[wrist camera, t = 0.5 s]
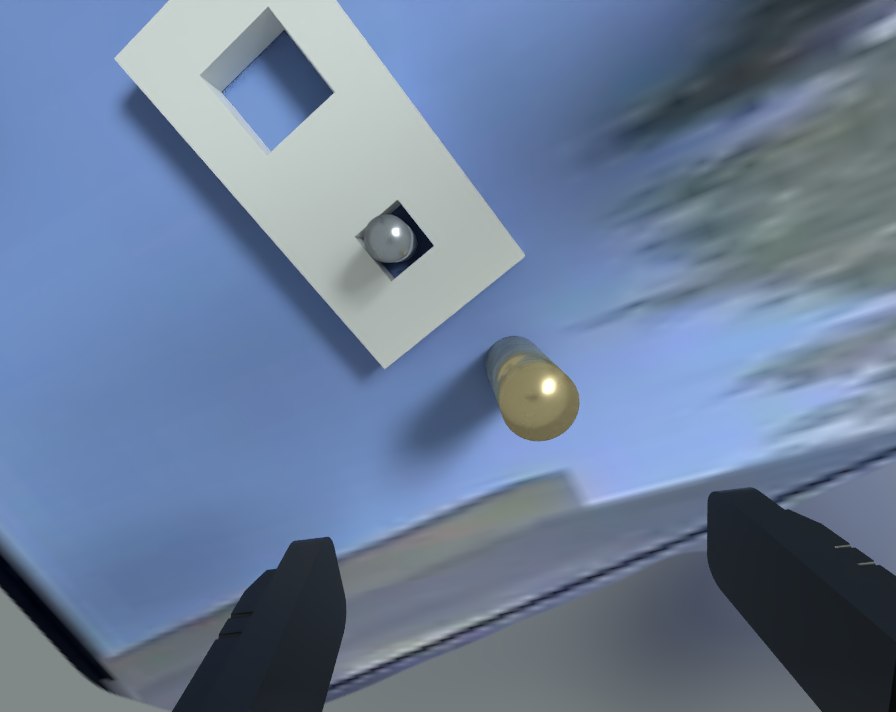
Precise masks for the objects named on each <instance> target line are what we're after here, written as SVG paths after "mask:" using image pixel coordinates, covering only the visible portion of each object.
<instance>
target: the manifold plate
mask: <svg viewBox="0 0 896 712" xmlns="http://www.w3.org/2000/svg"><path fill="white" fill-rule="evenodd" d="M284 30H285V31H286V32H287V34H288V35H289V36H290V37H291V39H292V40H293V41H294V43H295V44H296V45H297V46H298V48H299V49H300V50H301V52H302V53H303V54H304V55H305V57H306V58H307V59H308V61H309V62H310V63H311V64H312V66H313V67H314V68H315V70H316V71H317V72H318V73H319V75H320V76H321V77H322V79H323V80H324V81H325V82H326V84H327V85H328V86H329V88H330V89H331V90H332V91H333V94H332V95H331V96H330V97H329V98H328V99H327V100H326V101H325V102H324V103H323V104H322V105H321V106H319V107H318V108H317V109H316V110H315V111H314V112H313V113H312V114H311V115H310V116H309V117H308V118H307V119H306V120H305V121H304V122H302V123H301V124H300V125H299V126H298V127H297V128H296V129H295V130H294V131H293V132H292V133H291V134H290V135H289V136H288V137H287V138H285V139H284V140H283V141H282V142H281V143H280V144H279V145H278V146H277V147H276V148H275V149H274V150H273V151H272V152H271V151H270V150H269V149H268V147H267V146H266V145H265V144H264V143H263V141H262V140H261V139H260V138H259V137H258V135H257V134H256V133H255V132H254V131H253V129H252V128H251V127H250V126H249V125H248V123H247V122H246V121H245V120H244V119H243V117H242V116H241V115H240V114H239V113H238V111H237V110H236V109H235V108H234V107H233V105H232V104H231V103H230V102H229V101H228V99H227V98H226V97H225V96H224V95H223V93H222V91H223V90H224V89H225V88H226V87H227V86H228V85H229V84H230V83H231V82H232V81H233V80H234V79H235V78H236V77H237V76H238V75H239V74H240V73H241V72H242V71H243V70H244V69H245V68H246V67H247V66H248V65H249V64H250V63H251V62H252V61H253V60H254V59H256V58H257V57H258V56H259V55H260V54H261V53H262V52H263V51H264V50H265V49H266V48H267V47H268V46H269V45H270V44H271V43H272V42H273V41H274V40H275V39H276V38H277V37H278V36H279V35H280V34H281V33H282V32H283V31H284ZM114 59H115V60H116V61H117V62H118V64H119V65H120V66H121V67H122V68H123V69H124V70H125V72H126V73H127V74H128V75H129V76H130V77H131V78H132V80H133V81H134V82H135V83H136V84H137V85H138V86H139V88H140V89H141V90H142V91H143V92H144V93H145V95H146V96H147V97H148V98H149V99H150V100H151V101H152V103H153V104H154V105H155V106H156V107H157V108H158V109H159V111H160V112H161V113H162V114H163V115H164V116H165V117H166V119H167V120H168V121H169V122H170V123H171V124H172V126H173V127H174V128H175V129H176V130H177V131H178V132H179V134H180V135H181V136H182V137H183V138H184V139H185V140H186V142H187V143H188V144H189V145H190V146H191V147H192V149H193V150H194V151H195V152H196V153H197V154H198V155H199V157H200V158H201V159H202V160H203V161H204V162H205V163H206V165H207V166H208V167H209V168H210V169H211V170H212V171H213V173H214V174H215V175H216V176H217V177H218V178H219V180H220V181H221V182H222V183H223V184H224V185H225V186H226V188H227V189H228V190H229V191H230V192H231V193H232V194H233V196H234V197H235V198H236V199H237V200H238V201H239V202H240V204H241V205H242V206H243V207H244V208H245V209H246V211H247V212H248V213H249V214H250V215H251V216H252V217H253V219H254V220H255V221H256V222H257V223H258V224H259V225H260V227H261V228H262V229H263V230H264V231H265V232H266V234H267V235H268V236H269V237H270V238H271V239H272V240H273V242H274V243H275V244H276V245H277V246H278V247H279V248H280V250H281V251H282V252H283V253H284V254H285V255H286V256H287V258H288V259H289V260H290V261H291V262H292V263H293V265H294V266H295V267H296V268H297V269H298V270H299V271H300V273H301V274H302V275H303V276H304V277H305V278H306V279H307V281H308V282H309V283H310V284H311V285H312V286H313V288H314V289H315V290H316V291H317V292H318V293H319V294H320V296H321V297H322V298H323V299H324V300H325V301H326V302H327V304H328V305H329V306H330V307H331V308H332V309H333V310H334V312H335V313H336V314H337V315H338V316H339V317H340V319H341V320H342V321H343V322H344V323H345V324H346V325H347V327H348V328H349V329H350V330H351V331H352V332H353V333H354V335H355V336H356V337H357V338H358V339H359V340H360V341H361V343H362V344H363V345H364V346H365V347H366V348H367V350H368V351H369V352H370V353H371V354H372V355H373V356H374V358H375V359H376V360H377V361H378V362H379V363H380V364H381V366H382V367H383V368H384V369H386V368H387V367H388V366H389V365H391V364H392V363H393V362H394V361H396V360H397V359H398V358H399V357H401V356H402V355H403V354H404V353H406V352H407V351H408V350H409V349H411V348H412V347H413V346H414V345H416V344H417V343H418V342H419V341H421V340H422V339H423V338H424V337H426V336H427V335H428V334H429V333H430V332H432V331H433V330H434V329H435V328H437V327H438V326H439V325H440V324H442V323H443V322H444V321H445V320H447V319H448V318H449V317H450V316H452V315H453V314H454V313H455V312H457V311H458V310H459V309H460V308H462V307H463V306H464V305H465V304H467V303H468V302H469V301H470V300H472V299H473V298H474V297H475V296H477V295H478V294H479V293H480V292H482V291H483V290H484V289H485V288H487V287H488V286H489V285H490V284H491V283H493V282H494V281H495V280H496V279H498V278H499V277H500V276H501V275H503V274H504V273H505V272H506V271H508V270H509V269H510V268H511V267H513V266H514V265H515V264H516V263H518V262H519V261H520V260H521V259H523V258H524V257H525V256H526V255H525V254H524V253H523V251H522V250H521V249H520V247H519V246H518V245H517V243H516V242H515V241H514V239H513V238H512V236H511V235H510V234H509V232H508V231H507V230H506V228H505V227H504V226H503V224H502V223H501V222H500V220H499V219H498V218H497V216H496V215H495V214H494V212H493V211H492V210H491V208H490V207H489V206H488V204H487V203H486V202H485V200H484V199H483V197H482V196H481V195H480V193H479V192H478V191H477V189H476V188H475V187H474V185H473V184H472V183H471V181H470V180H469V179H468V177H467V176H466V175H465V173H464V172H463V171H462V169H461V168H460V167H459V165H458V164H457V162H456V161H455V160H454V158H453V157H452V156H451V154H450V153H449V152H448V150H447V149H446V148H445V146H444V145H443V144H442V142H441V141H440V140H439V138H438V137H437V136H436V134H435V133H434V132H433V130H432V129H431V127H430V126H429V125H428V123H427V122H426V121H425V119H424V118H423V117H422V115H421V114H420V113H419V111H418V110H417V109H416V107H415V106H414V105H413V103H412V102H411V101H410V99H409V98H408V97H407V95H406V94H405V93H404V91H403V90H402V88H401V87H400V86H399V84H398V83H397V82H396V80H395V79H394V78H393V76H392V75H391V74H390V72H389V71H388V70H387V68H386V67H385V66H384V64H383V63H382V62H381V60H380V59H379V58H378V56H377V55H376V53H375V52H374V51H373V49H372V48H371V47H370V45H369V44H368V43H367V41H366V40H365V39H364V37H363V36H362V35H361V33H360V32H359V31H358V29H357V28H356V27H355V25H354V24H353V23H352V21H351V20H350V19H349V17H348V16H347V14H346V13H345V12H344V10H343V9H342V8H341V6H340V5H339V4H338V2H337V1H336V0H169V1H168V2H167V3H166V4H165V5H164V6H163V8H162V9H161V10H160V11H159V12H158V13H157V14H156V15H155V16H154V17H153V18H152V19H151V20H150V21H149V22H148V23H147V24H146V25H145V27H144V28H143V29H142V30H141V31H140V32H139V33H138V34H137V35H136V36H135V37H134V38H133V39H132V40H131V41H130V42H129V43H128V44H127V46H126V47H125V48H124V49H123V50H122V51H121V52H120V53H119V54H118V55H117V56H116V57H115V58H114ZM400 205H402V206H403V207H404V208H405V209H406V211H407V212H408V213H409V214H410V216H411V217H412V218H413V220H414V221H415V222H416V223H417V225H418V226H419V227H420V228H421V230H422V231H423V232H424V233H425V235H426V236H427V237H428V239H429V240H430V241H431V242H432V244H433V245H434V246H433V247H432V248H431V249H430V250H428V251H427V252H426V253H425V254H424V255H422V256H421V257H420V258H419V259H418V260H416V261H415V262H414V263H413V264H412V265H410V266H409V267H408V268H407V269H406V270H405V271H403V272H402V273H401V274H400V275H399V276H397V277H396V278H394V277H393V276H392V275H391V273H390V272H389V271H388V270H387V268H386V267H385V266H384V265H383V264H382V262H381V261H378V260H376V259H375V258H373V257H372V256H371V255H370V254H369V252H368V251H367V249H366V247H365V244H364V241H363V239H362V238H363V237H364V232H365V229H366V226H367V225H368V223H369V222H370V221H371V220H372V219H373V218H375V217H376V216H379V215H383V214H391V213H392V212H393V211H395V210H396V209H397V208H398V207H399V206H400Z"/></svg>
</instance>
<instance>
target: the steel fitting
mask: <svg viewBox="0 0 896 712" xmlns="http://www.w3.org/2000/svg"><path fill="white" fill-rule="evenodd" d="M364 244H365V247H366V249H367V251H368V252H369V254H370V255H371V256H372V257H373V258H375V259H376V260H378V261H381V262H387V263H390V262H403V261H406V260H408V259H410V258H411V257H412V256H413V255H414V253H415V251H416V249H417V237H416V235H415V233H414V231H413V230H412V229H411V228H410V227H409V226H408V225H407V224H406V223H404V222H403V221H402V220H401V219H400V218H398V217H396V216H394V215H390V214H383V215H379V216H376V217H375V218H373V219H372V220H371V221H370V222H369V223H368V225H367V226H366V229H365V232H364Z"/></svg>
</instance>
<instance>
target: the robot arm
mask: <svg viewBox="0 0 896 712" xmlns="http://www.w3.org/2000/svg"><path fill="white" fill-rule="evenodd" d="M707 558H708V564H709V567H710V570H711V573H712V576H713V578H714V580H715V582H716V584H717V585H718V587H719V588H720V590H721V591H722V592H723V593H724V594H725V596H726V597H727V598H728V599H729V601H730V602H731V603H732V604H733V605H734V607H735V608H736V609H737V610H738V611H739V613H740V614H741V615H742V616H743V617H744V619H745V620H746V621H747V622H748V623H749V625H750V626H751V627H752V628H753V629H754V631H755V632H756V633H757V634H758V635H759V637H760V638H761V639H762V640H763V641H764V643H765V644H766V645H767V646H768V647H769V649H770V650H771V651H772V652H773V653H774V655H775V656H776V657H777V658H778V659H779V661H780V662H781V663H782V664H783V665H784V667H785V668H786V669H787V670H788V671H789V673H790V674H791V675H792V676H793V677H794V678H795V680H796V681H797V682H798V684H799V685H800V686H801V687H802V688H803V690H804V691H805V692H806V693H807V694H808V696H809V697H810V698H811V699H812V700H813V701H814V703H815V704H816V705H817V706H818V707H819V709H820V710H821V711H822V712H896V576H895V575H893V574H892V573H890V572H889V571H888V570H886V569H885V568H884V567H882V566H880V565H875V563H874V561H873V560H872V559H871V558H869V557H868V556H866V555H865V554H864V553H862V552H861V551H859V550H858V549H856V548H851V546H850V544H849V543H848V542H847V541H845V540H844V539H842V538H841V537H839V536H838V535H837V534H835V533H834V532H832V531H831V530H830V529H828V528H827V527H825V526H824V525H822V524H821V523H818V522H816V521H814V520H811V519H809V518H807V517H805V516H802V515H800V514H798V513H796V512H793V511H791V510H789V509H787V510H784V509H783V508H781V507H780V506H779V505H777V504H776V503H775V502H773V501H772V500H771V499H769V498H768V497H767V496H765V495H764V494H763V493H761V492H760V491H758V490H757V489H755V488H751V487H748V488H740V489H731V490H723V491H715V492H712V493H711V494H710V495H709V497H708V514H707ZM345 623H346V599H345V594H344V589H343V585H342V580H341V576H340V571H339V567H338V562H337V558H336V553H335V548H334V545H333V542H332V540H331V538H330V537H323V538H315V539H307V540H298V541H293V542H292V543H291V544H290V546H289V547H288V549H287V551H286V553H285V555H284V557H283V558H282V560H281V562H280V564H279V566H278V568H277V569H272V570H266V571H265V572H264V573H263V574H262V575H261V576H260V577H259V578H258V579H257V580H256V581H255V582H254V583H253V584H252V585H251V586H250V587H249V588H247V589H246V590H245V592H244V593H243V595H242V597H241V598H240V600H239V602H238V603H237V605H236V607H235V608H234V610H233V612H232V613H231V618H230V619H228V620H227V622H226V623H225V625H224V627H223V628H222V630H221V632H220V633H219V638H218V639H216V640H215V641H214V643H213V645H212V646H211V648H210V650H209V651H208V653H207V655H206V656H205V658H204V660H203V661H202V663H201V665H200V666H199V668H198V670H197V671H196V673H195V674H194V676H193V678H192V679H191V681H190V683H189V684H188V686H187V688H186V689H185V691H184V693H183V694H182V696H181V698H180V699H179V701H178V703H177V704H176V706H175V708H174V709H173V711H172V712H322V710H323V707H324V703H325V699H326V696H327V692H328V688H329V685H330V681H331V678H332V674H333V670H334V667H335V663H336V659H337V656H338V652H339V648H340V645H341V641H342V637H343V634H344V629H345Z"/></svg>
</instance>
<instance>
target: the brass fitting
mask: <svg viewBox="0 0 896 712" xmlns="http://www.w3.org/2000/svg"><path fill="white" fill-rule="evenodd" d="M485 367H486V372H487V375H488V378H489V381H490V383H491V386H492V389H493V391H494V394H495V397H496V400H497V402H498V405H499V408H500V411H501V413H502V416H503V419H504V421H505V423H506V425H507V426H508V427H509V429H510V430H511V431H512V432H514V433H515V434H516V435H518V436H519V437H521V438H524V439H527V440H531V441H546V440H550V439H553V438H555V437H558V436H559V435H561V434H563V433H564V432H565V431H566V430H567V429H568V428H569V427H570V426H571V425H572V423H573V422H574V420H575V418H576V416H577V414H578V410H579V394H578V391H577V388H576V386H575V384H574V383H573V381H572V380H571V379H570V378H569V377H568V376H567V375H566V374H565V373H564V372H563V371H562V370H561V369H560V368H559V367H558V366H556V365H555V364H554V363H553V362H552V361H551V360H550V359H549V358H548V357H547V356H546V355H545V354H544V353H543V352H542V351H541V350H540V349H539V348H538V347H537V346H536V345H534V344H533V343H532V342H531V341H529V340H528V339H526V338H523V337H518V336H511V337H506V338H503V339H501V340H499V341H498V342H496V343H495V344H494V345H493V346H492V347H491V349H490V350H489V352H488V354H487V357H486V362H485Z"/></svg>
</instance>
